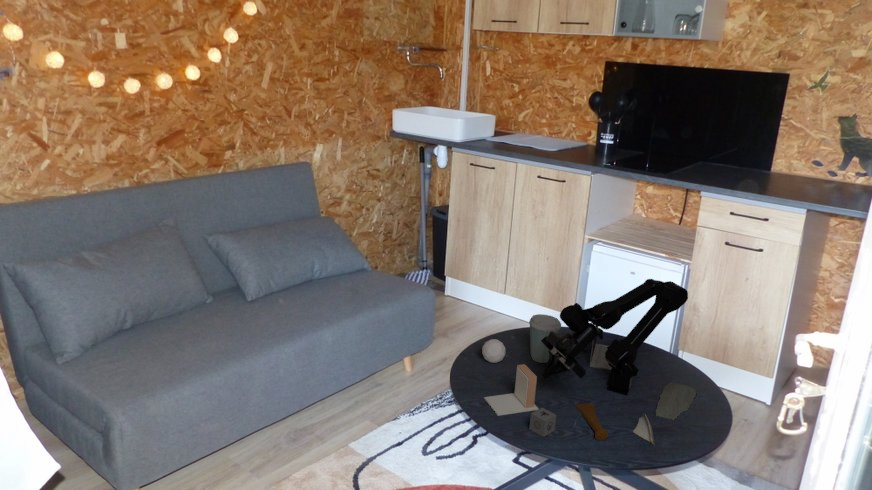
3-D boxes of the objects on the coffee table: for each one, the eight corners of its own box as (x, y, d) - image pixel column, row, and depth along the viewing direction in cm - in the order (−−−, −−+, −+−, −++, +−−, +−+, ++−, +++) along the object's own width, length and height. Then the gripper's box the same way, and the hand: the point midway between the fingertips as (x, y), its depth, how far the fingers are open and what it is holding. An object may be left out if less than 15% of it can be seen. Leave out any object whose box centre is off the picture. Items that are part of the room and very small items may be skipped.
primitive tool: (574, 405, 209) (575, 395, 208) (592, 405, 209) (593, 394, 208) (594, 442, 191) (596, 431, 189) (614, 442, 191) (616, 431, 190)
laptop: (627, 374, 229) (632, 338, 225) (588, 367, 233) (593, 331, 229) (630, 351, 245) (635, 317, 241) (594, 345, 249) (599, 311, 245)
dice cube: (554, 430, 194) (556, 415, 193) (543, 437, 191) (545, 421, 190) (540, 423, 198) (542, 407, 196) (529, 429, 195) (530, 413, 193)
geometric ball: (498, 367, 234) (514, 352, 232) (485, 367, 228) (502, 351, 225) (485, 350, 238) (501, 334, 235) (473, 349, 232) (489, 333, 229)
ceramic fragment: (654, 447, 190) (657, 435, 188) (635, 445, 190) (637, 432, 189) (645, 420, 203) (647, 409, 202) (627, 418, 203) (629, 407, 202)
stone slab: (696, 396, 220) (664, 384, 224) (699, 389, 219) (667, 377, 223) (685, 430, 201) (651, 416, 205) (688, 422, 200) (653, 408, 204)
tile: (521, 393, 212) (524, 364, 209) (533, 407, 205) (537, 376, 202) (513, 394, 211) (516, 365, 208) (525, 408, 204) (528, 377, 201)
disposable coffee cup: (534, 348, 243) (538, 309, 239) (563, 358, 237) (567, 317, 233) (519, 359, 235) (523, 318, 230) (548, 369, 229) (553, 327, 224)
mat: (523, 392, 213) (523, 391, 213) (538, 409, 204) (538, 408, 204) (484, 398, 209) (484, 397, 209) (497, 415, 200) (497, 414, 200)
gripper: (549, 311, 213) (513, 347, 212) (581, 337, 196) (542, 376, 196) (569, 332, 218) (534, 368, 217) (602, 359, 201) (563, 398, 201)
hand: (542, 376), depth 208 cm, fingers closed
